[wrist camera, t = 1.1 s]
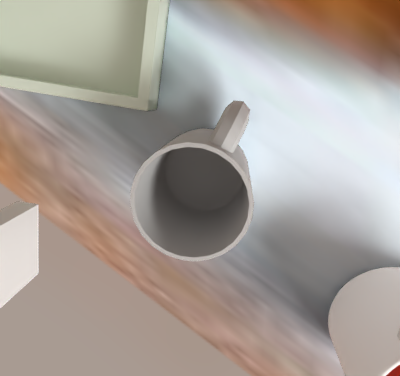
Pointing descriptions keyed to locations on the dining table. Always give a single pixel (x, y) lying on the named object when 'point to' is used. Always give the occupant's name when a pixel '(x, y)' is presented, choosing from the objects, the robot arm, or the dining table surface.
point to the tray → (85, 49)
